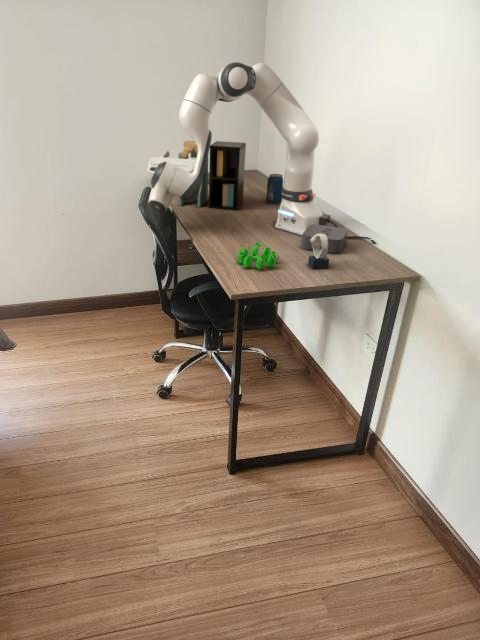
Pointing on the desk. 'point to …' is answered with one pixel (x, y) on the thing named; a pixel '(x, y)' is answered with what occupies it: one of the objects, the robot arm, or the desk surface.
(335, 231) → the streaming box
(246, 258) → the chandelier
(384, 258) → the desk surface
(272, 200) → the soda can
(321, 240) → the watch
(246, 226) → the desk surface
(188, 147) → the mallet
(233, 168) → the shelf
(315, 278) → the desk surface
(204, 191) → the stand
